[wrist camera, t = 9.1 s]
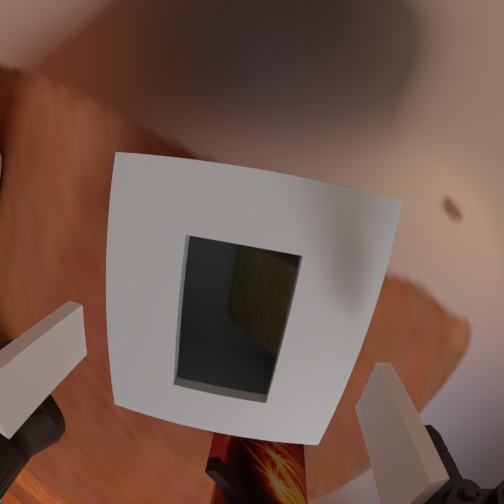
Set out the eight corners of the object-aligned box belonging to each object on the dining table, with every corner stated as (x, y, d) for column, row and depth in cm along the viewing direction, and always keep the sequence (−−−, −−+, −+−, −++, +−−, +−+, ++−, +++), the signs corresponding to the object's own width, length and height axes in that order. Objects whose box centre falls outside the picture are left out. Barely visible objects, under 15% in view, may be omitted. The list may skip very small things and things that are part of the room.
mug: (227, 391, 28) (206, 487, 16) (320, 446, 29) (330, 529, 18) (177, 431, 30) (148, 510, 18) (265, 477, 31) (261, 551, 20)
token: (226, 314, 23) (290, 369, 17) (238, 239, 22) (314, 277, 16) (257, 310, 25) (322, 357, 19) (271, 239, 23) (347, 273, 18)
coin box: (159, 337, 27) (114, 404, 17) (176, 160, 23) (115, 151, 13) (306, 365, 26) (318, 445, 17) (351, 190, 23) (402, 200, 13)
